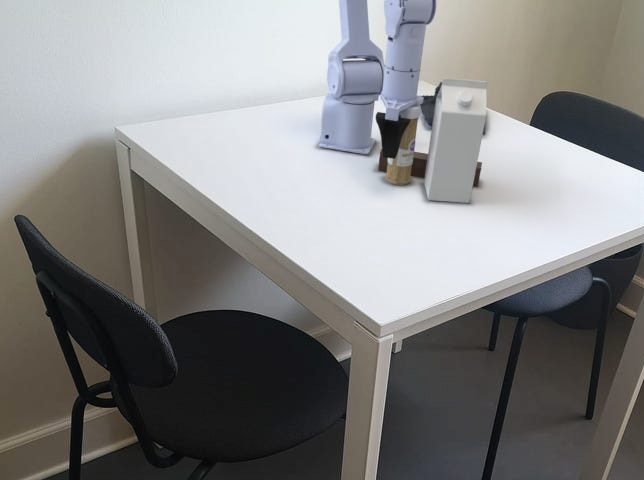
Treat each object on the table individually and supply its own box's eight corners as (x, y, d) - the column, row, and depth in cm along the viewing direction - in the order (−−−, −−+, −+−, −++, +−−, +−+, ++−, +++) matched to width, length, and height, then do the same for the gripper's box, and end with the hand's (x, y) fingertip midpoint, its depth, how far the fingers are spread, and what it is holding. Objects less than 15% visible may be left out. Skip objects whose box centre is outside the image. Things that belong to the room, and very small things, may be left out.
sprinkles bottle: (406, 187, 124) (417, 109, 116) (381, 182, 125) (390, 104, 116) (413, 178, 127) (424, 101, 119) (388, 173, 128) (397, 96, 120)
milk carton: (423, 183, 126) (440, 71, 114) (463, 186, 126) (483, 75, 115) (427, 201, 120) (445, 84, 109) (469, 204, 121) (491, 88, 109)
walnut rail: (377, 171, 128) (379, 152, 126) (380, 165, 131) (382, 146, 129) (477, 187, 127) (481, 168, 125) (478, 180, 129) (482, 162, 127)
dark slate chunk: (413, 130, 147) (416, 107, 145) (417, 98, 165) (420, 77, 162) (487, 139, 147) (491, 116, 144) (483, 107, 165) (488, 86, 162)
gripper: (421, 82, 109) (410, 168, 117) (432, 59, 120) (420, 138, 128) (376, 75, 109) (367, 161, 117) (390, 53, 121) (382, 132, 129)
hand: (392, 149), depth 123 cm, fingers open, 7 cm apart
